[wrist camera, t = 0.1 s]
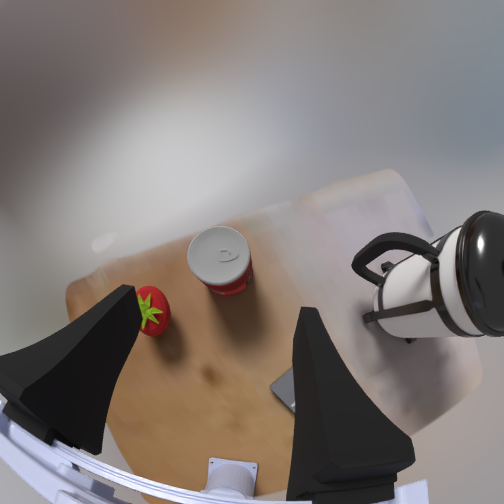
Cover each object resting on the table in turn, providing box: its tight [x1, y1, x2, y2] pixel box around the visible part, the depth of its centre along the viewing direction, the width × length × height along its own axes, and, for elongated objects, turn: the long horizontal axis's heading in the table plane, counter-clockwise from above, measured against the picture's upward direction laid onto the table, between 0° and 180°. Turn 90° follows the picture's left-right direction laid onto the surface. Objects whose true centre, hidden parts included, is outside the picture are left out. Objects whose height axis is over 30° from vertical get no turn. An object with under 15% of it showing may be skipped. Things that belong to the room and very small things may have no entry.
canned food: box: [187, 226, 253, 295], centre depth 39 cm, size 8×8×11 cm
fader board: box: [270, 366, 295, 413], centre depth 37 cm, size 19×8×2 cm, turn 41°
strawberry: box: [136, 286, 171, 337], centre depth 38 cm, size 6×8×10 cm
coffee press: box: [351, 211, 504, 344], centre depth 28 cm, size 17×16×30 cm
